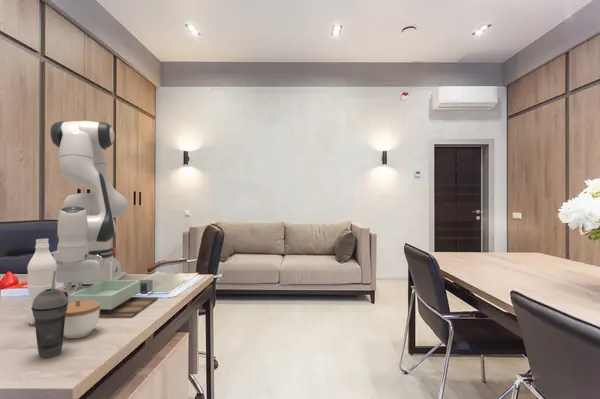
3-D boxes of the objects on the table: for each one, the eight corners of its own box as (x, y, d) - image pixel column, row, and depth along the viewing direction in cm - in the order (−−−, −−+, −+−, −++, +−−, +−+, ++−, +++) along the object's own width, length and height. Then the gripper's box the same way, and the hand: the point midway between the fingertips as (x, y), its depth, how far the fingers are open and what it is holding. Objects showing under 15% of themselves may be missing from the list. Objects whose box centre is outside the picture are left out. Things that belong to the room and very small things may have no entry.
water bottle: (59, 322, 106) (59, 239, 106) (29, 328, 101) (29, 241, 101) (54, 316, 111) (54, 237, 111) (25, 322, 106) (25, 239, 106)
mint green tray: (103, 295, 130) (103, 280, 130) (140, 295, 130) (140, 280, 130) (68, 312, 110) (68, 295, 110) (111, 313, 110) (111, 295, 110)
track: (103, 298, 130) (103, 295, 130) (157, 299, 130) (157, 296, 130) (67, 317, 110) (67, 314, 110) (131, 318, 110) (131, 314, 110)
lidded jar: (60, 345, 90) (60, 309, 90) (49, 334, 97) (49, 300, 97) (106, 334, 97) (105, 300, 97) (92, 324, 105) (92, 292, 105)
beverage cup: (48, 346, 89) (48, 267, 89) (75, 347, 88) (75, 268, 88) (23, 359, 82) (23, 273, 82) (52, 361, 81) (52, 274, 81)
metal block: (139, 292, 140) (140, 279, 140) (152, 292, 140) (152, 279, 140) (133, 295, 135) (133, 282, 135) (146, 296, 135) (146, 282, 135)
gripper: (108, 253, 123) (108, 292, 123) (50, 252, 123) (50, 292, 123) (98, 256, 117) (98, 298, 117) (36, 256, 117) (36, 297, 117)
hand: (73, 295), depth 120 cm, fingers closed
